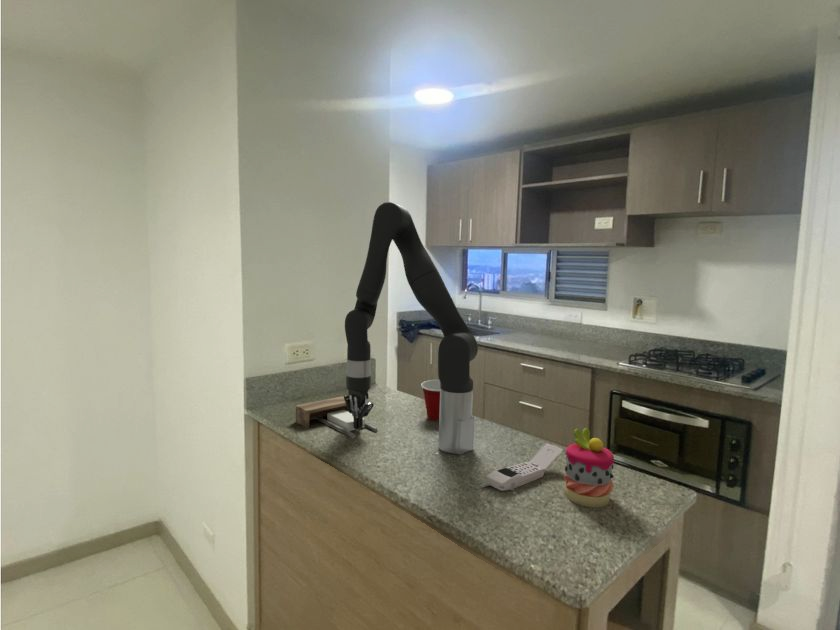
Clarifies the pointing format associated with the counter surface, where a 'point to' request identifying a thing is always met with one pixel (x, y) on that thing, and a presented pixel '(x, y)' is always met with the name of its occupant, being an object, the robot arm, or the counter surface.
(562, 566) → the counter surface
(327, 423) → the overhang
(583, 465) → the cake
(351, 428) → the cream rectangular block
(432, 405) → the plastic cup
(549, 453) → the mobile phone
